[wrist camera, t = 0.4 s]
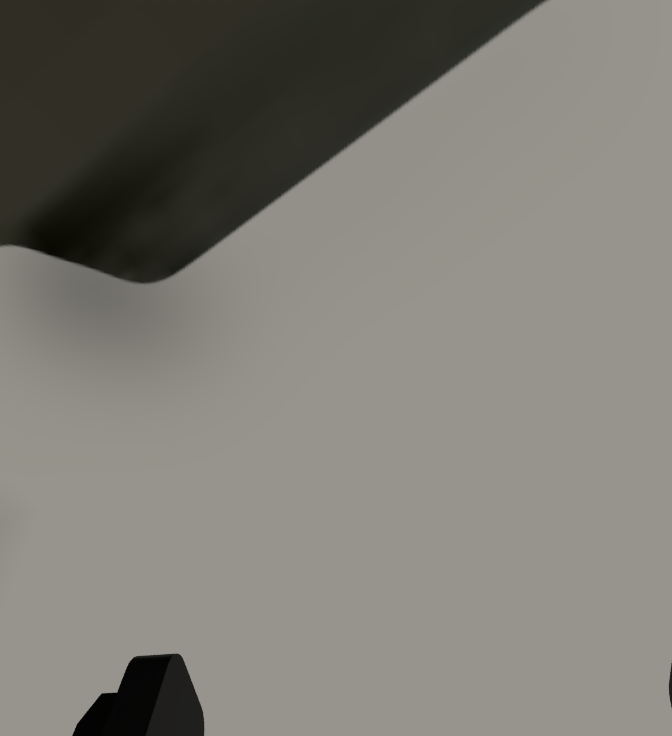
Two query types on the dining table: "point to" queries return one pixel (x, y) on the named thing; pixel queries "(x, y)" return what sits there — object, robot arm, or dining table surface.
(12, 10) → the dining table surface
